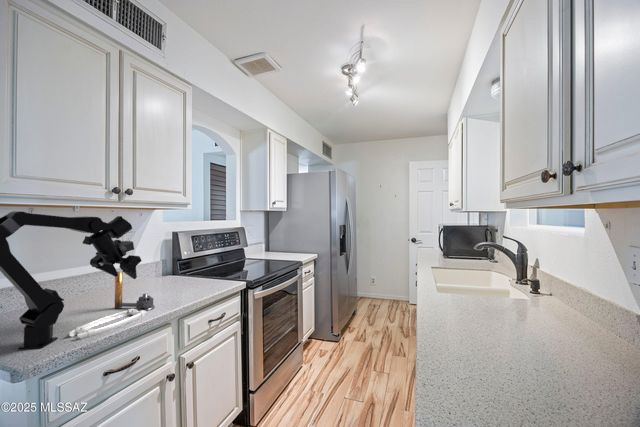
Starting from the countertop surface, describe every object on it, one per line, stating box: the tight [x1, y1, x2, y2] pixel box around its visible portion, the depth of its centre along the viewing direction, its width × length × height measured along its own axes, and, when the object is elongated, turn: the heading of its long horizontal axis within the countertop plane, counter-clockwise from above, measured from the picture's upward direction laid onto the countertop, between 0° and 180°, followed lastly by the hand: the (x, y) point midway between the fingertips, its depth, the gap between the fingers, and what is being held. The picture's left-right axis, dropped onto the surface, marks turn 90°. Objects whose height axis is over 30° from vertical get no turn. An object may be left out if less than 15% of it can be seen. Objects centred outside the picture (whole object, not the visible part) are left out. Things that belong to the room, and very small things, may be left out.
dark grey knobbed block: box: [134, 293, 156, 312], centre depth 121 cm, size 7×7×6 cm
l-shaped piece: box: [114, 271, 154, 309], centre depth 121 cm, size 14×4×15 cm, turn 91°
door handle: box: [67, 308, 148, 340], centre depth 104 cm, size 3×10×25 cm
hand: (126, 277), depth 114 cm, fingers open, 9 cm apart
